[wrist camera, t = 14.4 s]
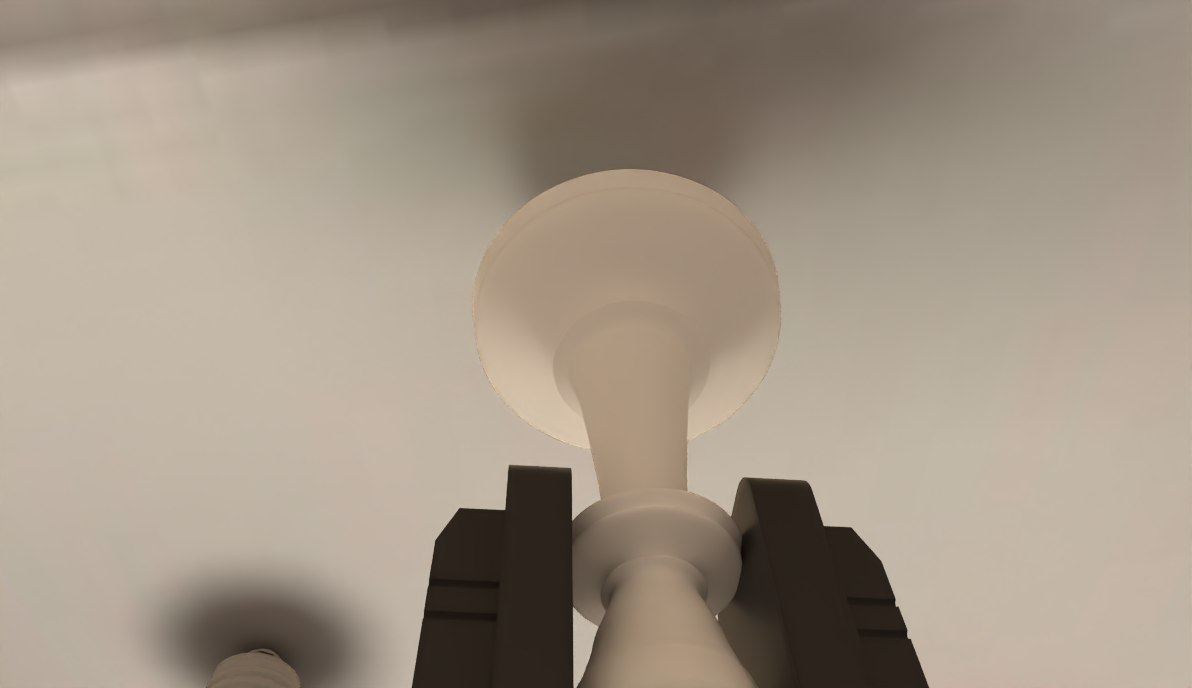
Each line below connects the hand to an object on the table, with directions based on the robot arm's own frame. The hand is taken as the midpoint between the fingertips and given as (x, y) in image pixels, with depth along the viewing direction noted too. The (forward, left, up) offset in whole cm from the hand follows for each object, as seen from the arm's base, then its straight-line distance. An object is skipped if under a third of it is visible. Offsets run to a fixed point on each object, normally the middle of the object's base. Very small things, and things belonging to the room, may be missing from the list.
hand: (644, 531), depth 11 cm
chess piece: (0, 0, -5) cm, 5 cm away
